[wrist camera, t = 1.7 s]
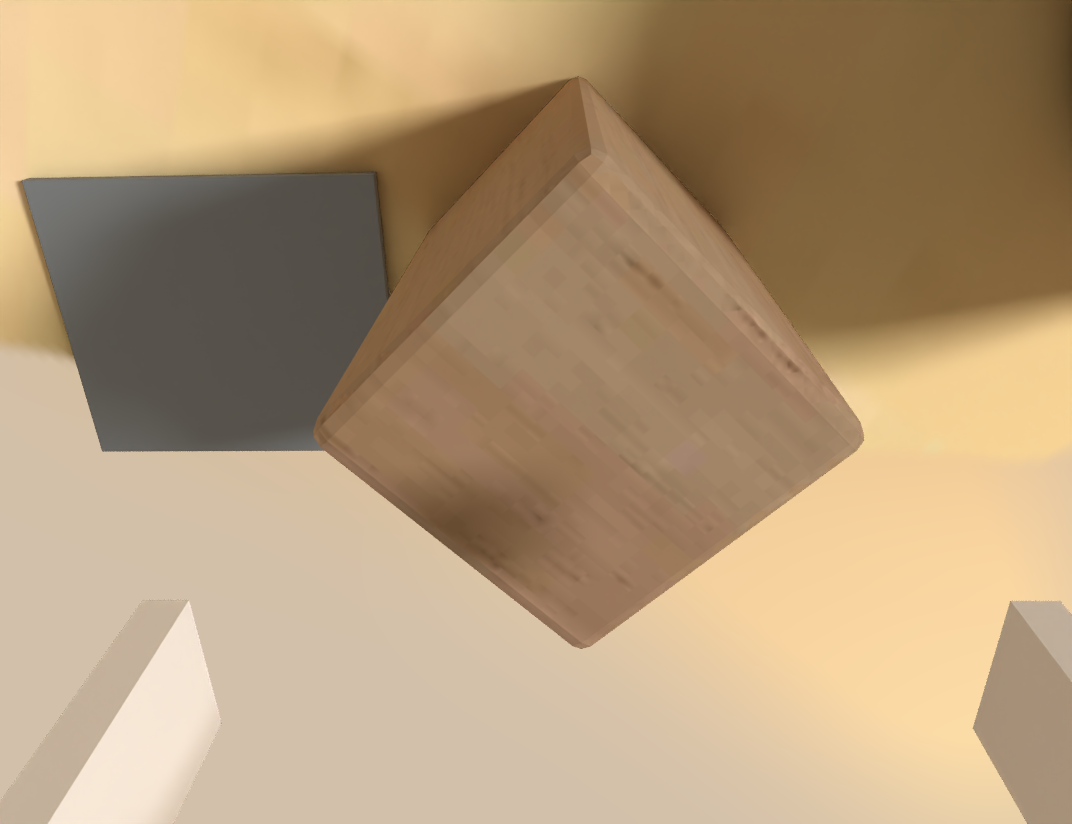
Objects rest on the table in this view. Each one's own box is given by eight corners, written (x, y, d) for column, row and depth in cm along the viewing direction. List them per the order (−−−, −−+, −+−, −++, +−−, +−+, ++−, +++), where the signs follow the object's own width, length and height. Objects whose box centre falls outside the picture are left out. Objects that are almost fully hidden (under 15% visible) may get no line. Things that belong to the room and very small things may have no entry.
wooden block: (574, 374, 41) (581, 661, 23) (424, 235, 38) (299, 440, 20) (729, 234, 38) (879, 444, 20) (577, 70, 35) (591, 140, 17)
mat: (29, 178, 37) (21, 180, 37) (376, 172, 37) (373, 174, 36) (107, 446, 44) (102, 451, 43) (405, 444, 43) (403, 450, 43)
